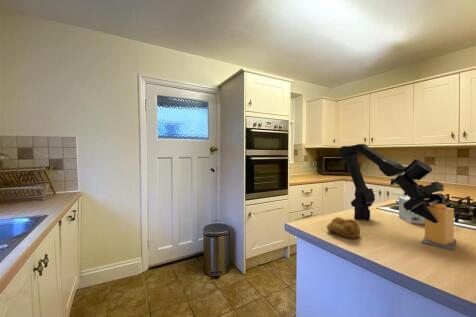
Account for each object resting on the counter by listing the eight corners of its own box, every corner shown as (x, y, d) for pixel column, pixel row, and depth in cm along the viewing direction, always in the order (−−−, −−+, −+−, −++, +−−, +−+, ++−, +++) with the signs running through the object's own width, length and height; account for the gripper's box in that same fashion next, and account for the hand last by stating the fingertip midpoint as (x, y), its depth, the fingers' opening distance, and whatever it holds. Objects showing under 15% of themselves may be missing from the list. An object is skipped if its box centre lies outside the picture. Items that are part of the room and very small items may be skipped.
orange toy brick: (424, 238, 82) (425, 203, 82) (433, 236, 84) (433, 202, 84) (444, 245, 77) (445, 207, 76) (453, 242, 79) (454, 205, 79)
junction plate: (453, 250, 73) (453, 235, 73) (421, 243, 80) (421, 229, 80) (455, 240, 81) (455, 227, 81) (426, 234, 88) (426, 222, 88)
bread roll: (323, 233, 91) (323, 214, 91) (334, 227, 97) (333, 210, 97) (355, 242, 81) (355, 222, 81) (364, 236, 87) (364, 216, 87)
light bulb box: (426, 224, 100) (426, 201, 99) (410, 223, 101) (410, 201, 101) (412, 217, 110) (412, 196, 110) (398, 216, 112) (398, 196, 111)
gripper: (412, 176, 80) (450, 212, 70) (439, 173, 87) (477, 206, 77) (390, 193, 87) (421, 228, 78) (417, 189, 95) (449, 221, 85)
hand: (443, 220), depth 79 cm, fingers open, 9 cm apart
